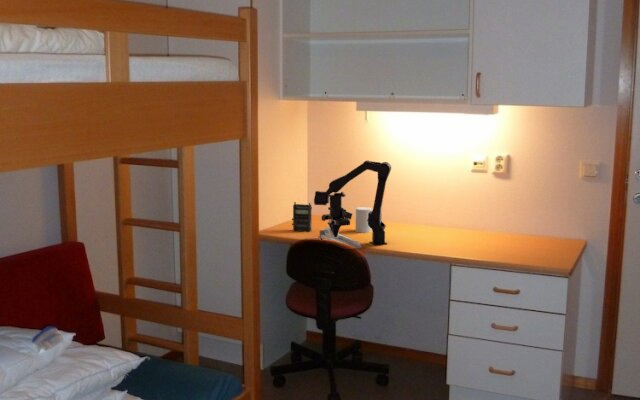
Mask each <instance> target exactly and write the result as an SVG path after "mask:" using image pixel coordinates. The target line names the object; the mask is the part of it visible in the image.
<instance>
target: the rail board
mask: <svg viewBox="0 0 640 400" xmlns="http://www.w3.org/2000/svg"><path fill="white" fill-rule="evenodd" d="M318 238H320V239H327V240H332V241H337V242H341V243H345V244H348V245H350V246H352V247H355V248H356V249H361V248H363V245H361V242H360V241H357V240H355V239H353V238H350V237H347V236H345V235H344V234H341V233H338V238H335V239H333V238H330V237H328V236H326V235H325V229H324V230H319V236H318V237H317V239H318ZM320 239H319V240H320Z"/></svg>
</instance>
